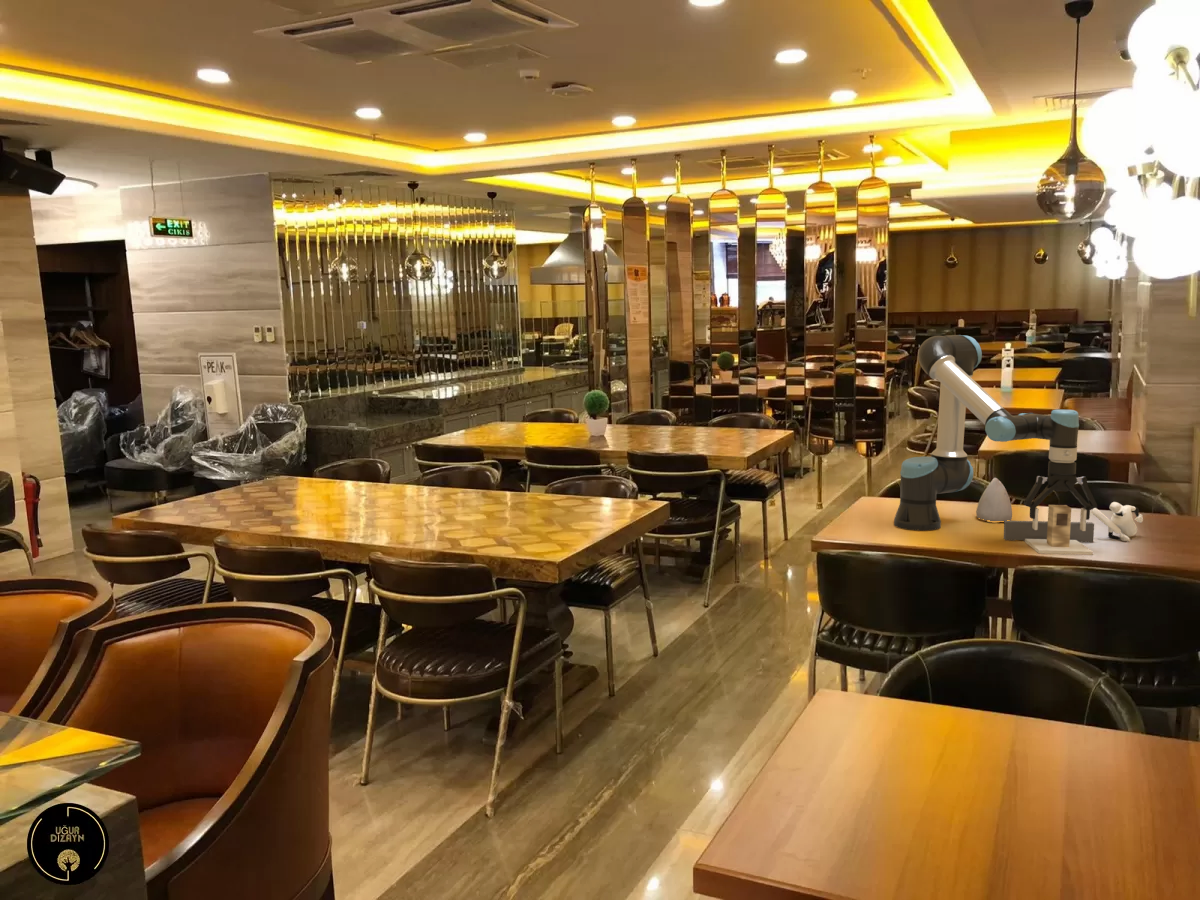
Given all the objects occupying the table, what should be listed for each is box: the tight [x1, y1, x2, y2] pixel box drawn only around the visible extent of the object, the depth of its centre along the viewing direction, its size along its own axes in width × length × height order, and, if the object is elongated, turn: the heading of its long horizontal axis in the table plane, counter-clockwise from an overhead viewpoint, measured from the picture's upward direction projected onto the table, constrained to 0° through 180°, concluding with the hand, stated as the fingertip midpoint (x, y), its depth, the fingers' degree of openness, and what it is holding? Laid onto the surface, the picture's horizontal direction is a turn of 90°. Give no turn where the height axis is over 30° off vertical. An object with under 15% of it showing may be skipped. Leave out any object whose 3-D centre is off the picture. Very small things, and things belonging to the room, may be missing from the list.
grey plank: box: [1003, 520, 1095, 543], centre depth 288 cm, size 26×2×6 cm, turn 80°
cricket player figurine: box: [1090, 501, 1144, 542], centre depth 288 cm, size 13×10×15 cm
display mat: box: [1024, 539, 1094, 556], centre depth 279 cm, size 15×15×1 cm
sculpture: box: [975, 477, 1013, 521], centre depth 319 cm, size 13×12×15 cm
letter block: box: [1047, 504, 1072, 547], centre depth 278 cm, size 5×5×12 cm
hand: (1058, 529), depth 278 cm, fingers open, 13 cm apart
